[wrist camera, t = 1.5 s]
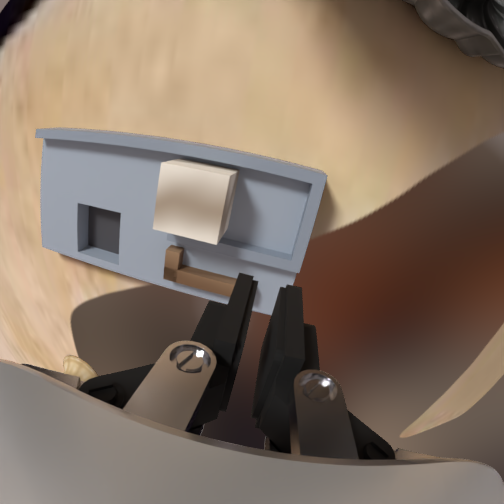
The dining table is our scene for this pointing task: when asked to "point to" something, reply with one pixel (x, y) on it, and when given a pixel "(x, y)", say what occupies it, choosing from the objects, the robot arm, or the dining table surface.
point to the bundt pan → (467, 25)
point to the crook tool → (195, 274)
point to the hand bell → (78, 368)
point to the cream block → (194, 199)
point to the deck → (143, 208)
